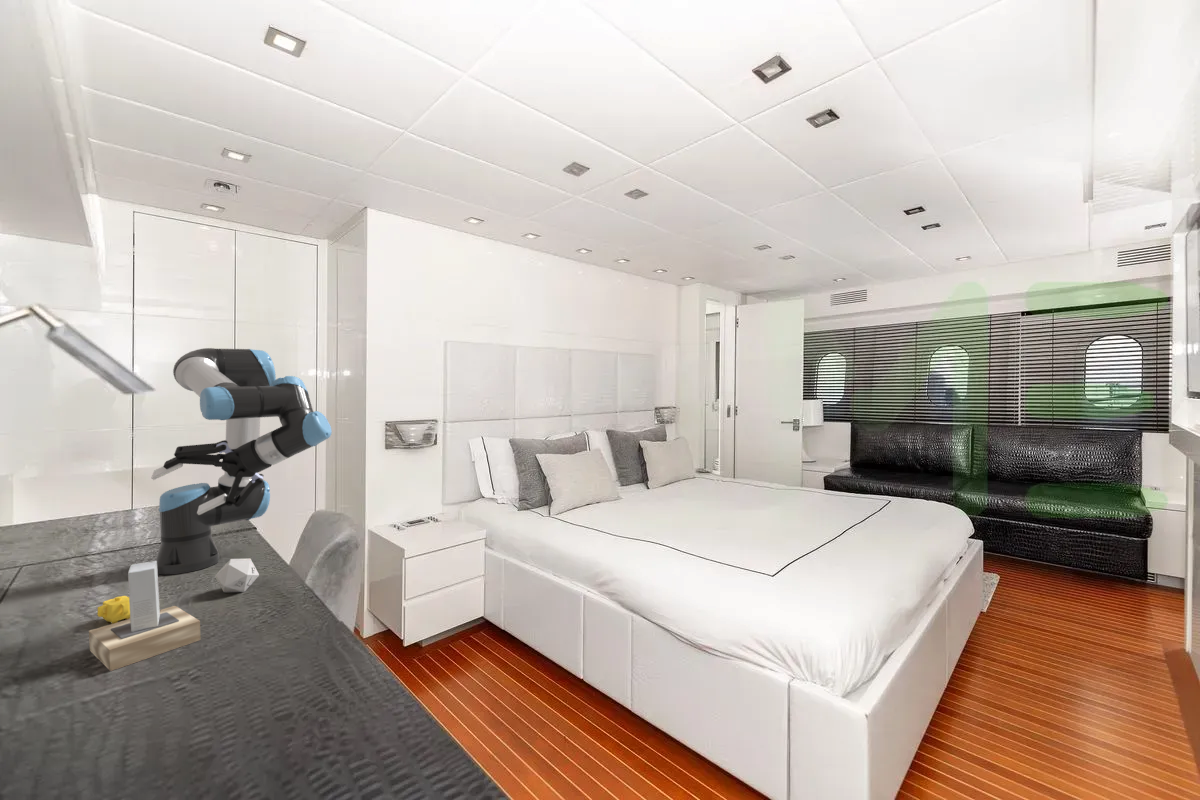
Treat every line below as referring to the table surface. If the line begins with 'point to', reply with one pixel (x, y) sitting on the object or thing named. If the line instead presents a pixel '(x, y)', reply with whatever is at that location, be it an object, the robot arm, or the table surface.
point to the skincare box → (143, 595)
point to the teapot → (115, 609)
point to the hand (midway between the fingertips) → (177, 493)
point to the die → (237, 575)
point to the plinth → (143, 638)
